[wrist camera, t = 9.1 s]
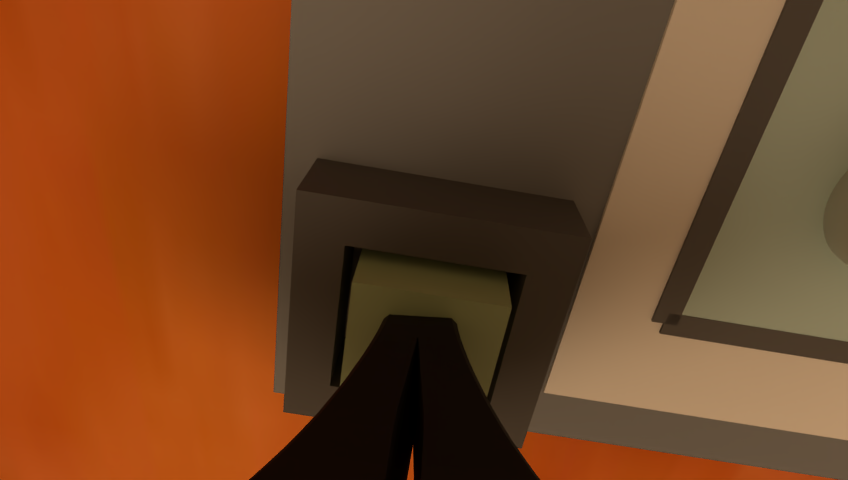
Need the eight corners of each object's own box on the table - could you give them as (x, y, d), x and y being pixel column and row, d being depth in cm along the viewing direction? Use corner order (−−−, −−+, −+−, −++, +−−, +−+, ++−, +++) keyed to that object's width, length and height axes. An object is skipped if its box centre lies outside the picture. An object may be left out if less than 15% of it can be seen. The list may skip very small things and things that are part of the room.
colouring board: (1703, -367, 8) (2193, -491, 6) (963, 478, 16) (1046, 564, 14) (337, -654, 8) (284, -921, 5) (281, 372, 16) (252, 443, 14)
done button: (503, 255, 12) (511, 307, 10) (475, 362, 14) (479, 424, 12) (367, 233, 12) (352, 281, 10) (353, 343, 13) (337, 402, 12)
